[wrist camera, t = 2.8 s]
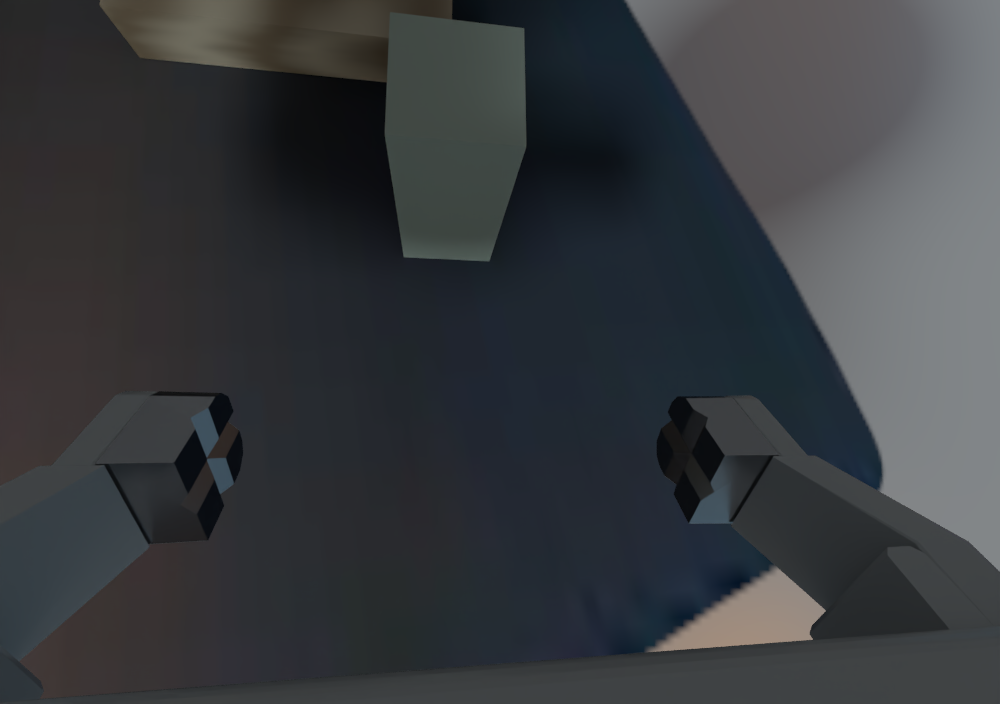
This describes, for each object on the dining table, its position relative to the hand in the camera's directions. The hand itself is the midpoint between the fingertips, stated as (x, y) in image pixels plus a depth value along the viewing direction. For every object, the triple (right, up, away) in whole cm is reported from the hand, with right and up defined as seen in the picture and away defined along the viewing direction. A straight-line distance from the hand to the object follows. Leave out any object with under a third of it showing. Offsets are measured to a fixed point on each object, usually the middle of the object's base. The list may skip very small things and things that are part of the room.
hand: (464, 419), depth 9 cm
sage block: (-2, +8, +16) cm, 18 cm away
